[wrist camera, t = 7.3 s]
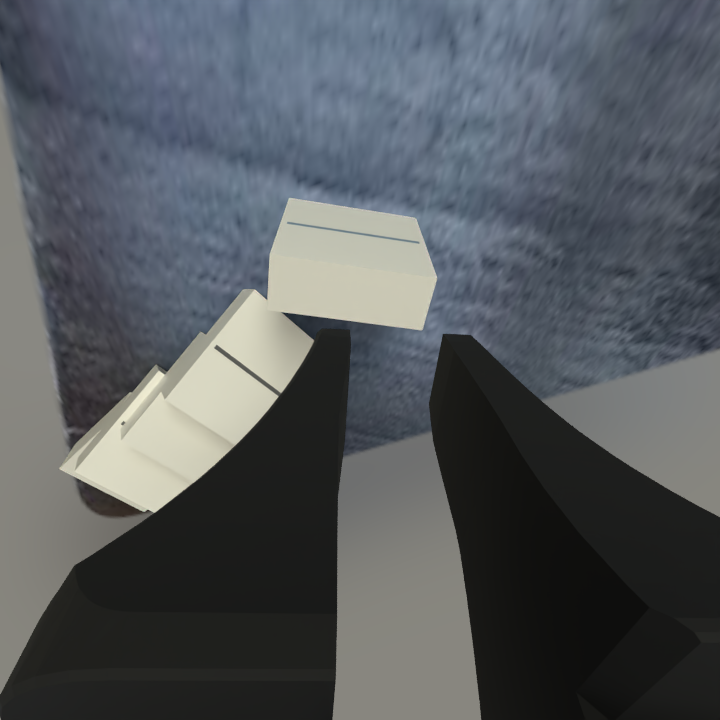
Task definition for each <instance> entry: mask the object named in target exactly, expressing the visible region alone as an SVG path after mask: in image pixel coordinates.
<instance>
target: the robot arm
mask: <svg viewBox="0 0 720 720" xmlns="http://www.w3.org/2000/svg"><path fill="white" fill-rule="evenodd" d="M350 351H351V338H350V330H344V329H321V330H320V331H319V332H317V334H316V337H315V340H314V342H313V344H312V346H311V348H310V350H309V352H308V354H307V355H306V357H305V359H304V361H303V362H302V364H301V365H300V367H299V368H298V370H297V372H296V373H295V375H294V376H293V378H292V379H291V381H290V382H289V384H288V385H287V386H286V388H285V389H284V390H283V392H282V393H281V394H280V395H279V397H278V398H277V399H276V401H275V402H274V403H273V404H272V406H271V407H270V408H269V410H268V411H267V412H266V413H265V414H264V415H263V417H262V418H261V419H260V420H259V421H258V422H257V423H256V424H255V426H254V427H253V428H252V429H251V430H250V431H249V432H248V433H247V434H246V435H245V436H244V437H243V438H242V439H241V440H240V441H239V442H238V443H237V444H236V445H235V446H234V447H233V448H232V449H231V450H230V451H229V452H228V453H227V454H226V455H225V456H223V457H222V458H221V459H220V460H219V461H218V462H217V463H216V464H215V465H214V466H213V467H211V468H210V469H209V470H208V471H207V472H206V473H205V474H203V475H202V476H201V477H200V478H199V479H197V480H196V481H195V482H194V483H192V484H191V485H190V486H189V487H187V488H186V489H185V490H183V491H182V492H181V493H180V494H178V495H177V496H176V497H174V498H173V499H172V500H171V501H169V502H168V503H167V504H165V505H164V506H163V507H162V508H160V509H159V510H158V511H156V512H155V513H154V514H152V515H151V516H149V517H148V518H147V519H145V520H144V521H142V522H141V523H140V524H138V525H137V526H135V527H134V528H132V529H130V530H129V531H128V532H126V533H124V534H123V535H121V536H120V537H118V538H117V539H115V540H114V541H112V542H111V543H109V544H108V545H106V546H105V547H103V548H102V549H100V550H99V551H97V552H96V553H94V554H93V555H91V556H90V557H88V558H86V559H85V560H83V561H81V562H80V563H78V564H76V565H75V566H74V567H73V569H72V570H71V572H70V573H69V575H68V576H67V578H66V580H65V581H64V583H63V584H62V586H61V587H60V589H59V590H58V592H57V593H56V595H55V596H54V598H53V599H52V600H51V602H50V604H49V605H48V607H47V609H46V610H45V612H44V613H43V615H42V617H41V618H40V620H39V622H38V624H37V625H36V627H35V629H34V631H33V633H32V635H31V637H30V639H29V641H28V643H27V645H26V647H25V649H24V650H23V652H22V654H21V656H20V658H19V660H18V662H17V664H16V666H15V668H14V670H13V672H12V674H11V675H10V677H9V679H8V681H7V683H6V685H5V687H4V689H3V691H2V693H1V694H0V718H1V720H332V717H333V703H334V692H335V679H336V637H337V516H338V512H337V511H338V490H339V482H340V475H341V467H342V459H343V451H344V442H345V429H346V414H347V398H348V382H349V367H350ZM429 408H430V418H431V427H432V435H433V442H434V446H435V451H436V455H437V459H438V463H439V467H440V471H441V475H442V479H443V482H444V486H445V490H446V494H447V498H448V502H449V506H450V510H451V514H452V518H453V521H454V526H455V529H456V534H457V539H458V543H459V548H460V554H461V561H462V568H463V574H464V581H465V588H466V594H467V601H468V609H469V617H470V625H471V632H472V640H473V648H474V655H475V656H474V657H475V665H476V674H477V683H478V691H479V700H480V710H481V720H720V517H718V516H716V515H715V514H712V513H711V512H709V511H707V510H705V509H703V508H701V507H699V506H697V505H695V504H694V503H692V502H690V501H688V500H686V499H685V498H683V497H681V496H679V495H677V494H676V493H674V492H672V491H670V490H668V489H667V488H665V487H664V486H662V485H660V484H659V483H657V482H655V481H654V480H652V479H650V478H649V477H647V476H645V475H644V474H642V473H640V472H638V471H637V470H635V469H634V468H632V467H630V466H629V465H627V464H626V463H624V462H623V461H621V460H620V459H618V458H616V457H615V456H613V455H612V454H610V453H609V452H608V451H606V450H605V449H603V448H602V447H600V446H599V445H598V444H596V443H595V442H593V441H592V440H590V439H589V438H588V437H586V436H585V435H583V434H582V433H581V432H579V431H578V430H577V429H575V428H574V427H573V426H571V425H570V424H569V423H567V422H566V421H565V420H564V419H563V418H561V417H560V416H559V415H558V414H556V413H555V412H554V411H553V410H552V409H550V408H549V407H548V406H547V405H545V404H544V403H543V402H542V401H541V400H540V399H538V398H537V397H536V396H535V395H534V394H533V393H532V392H530V391H529V390H528V389H527V388H526V387H525V386H524V385H523V384H522V383H521V382H519V381H518V380H517V379H516V378H515V377H514V376H513V375H512V374H511V373H510V372H509V371H508V370H507V369H506V368H505V367H504V366H502V365H501V364H500V363H499V362H498V361H497V360H496V359H495V358H494V357H493V356H492V355H491V354H490V353H489V352H488V351H487V350H486V349H485V348H484V347H483V346H482V345H481V344H480V343H479V342H478V341H477V340H475V339H474V338H473V337H472V336H471V335H457V334H443V337H442V342H441V347H440V352H439V357H438V362H437V367H436V372H435V377H434V382H433V387H432V391H431V396H430V401H429Z"/></svg>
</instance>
